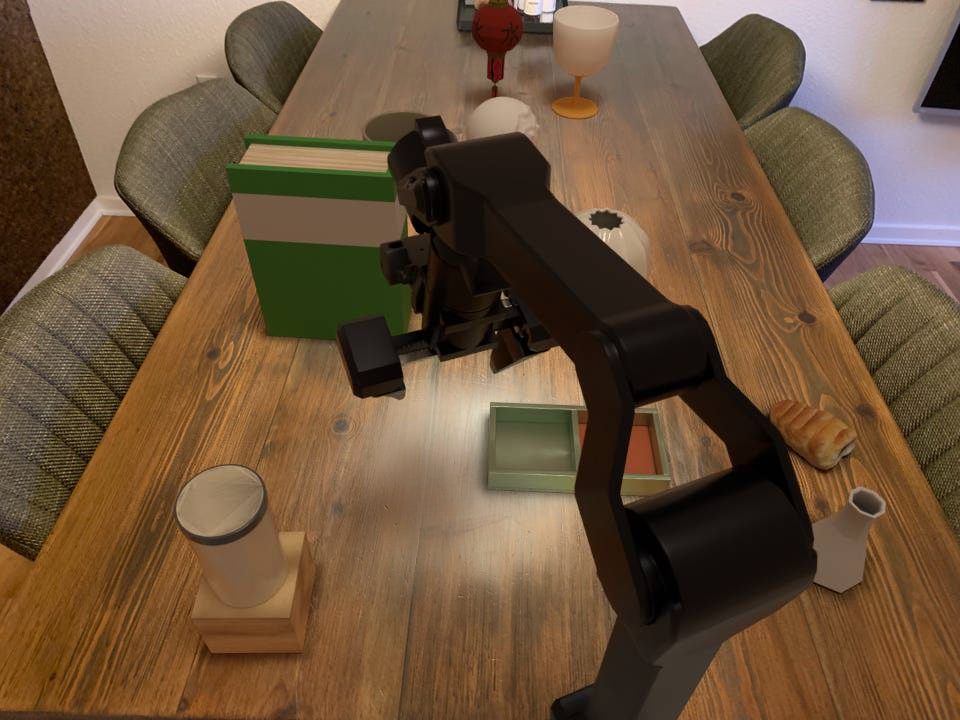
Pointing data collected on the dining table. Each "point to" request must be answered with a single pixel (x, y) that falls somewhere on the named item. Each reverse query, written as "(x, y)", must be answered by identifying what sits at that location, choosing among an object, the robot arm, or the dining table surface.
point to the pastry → (813, 432)
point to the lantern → (497, 35)
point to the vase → (620, 236)
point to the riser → (262, 610)
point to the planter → (390, 125)
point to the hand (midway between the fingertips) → (447, 382)
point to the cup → (582, 51)
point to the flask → (846, 540)
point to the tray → (566, 449)
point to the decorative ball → (502, 119)
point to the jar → (233, 534)
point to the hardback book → (319, 232)
